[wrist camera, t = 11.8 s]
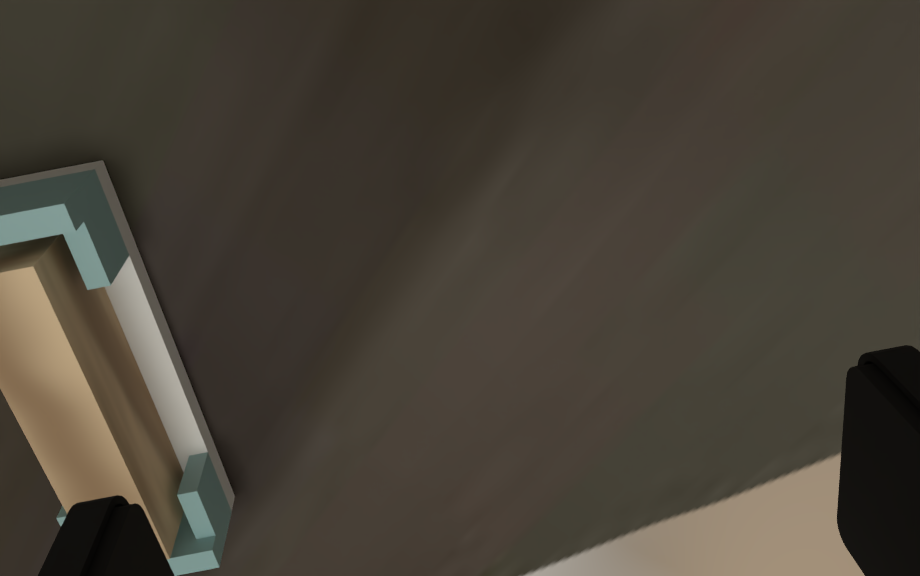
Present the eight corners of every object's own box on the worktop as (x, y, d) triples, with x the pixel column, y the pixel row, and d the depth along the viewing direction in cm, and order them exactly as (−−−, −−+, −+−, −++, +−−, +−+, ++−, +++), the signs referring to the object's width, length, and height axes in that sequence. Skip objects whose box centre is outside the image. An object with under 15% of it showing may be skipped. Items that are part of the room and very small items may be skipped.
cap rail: (102, 160, 37) (64, 203, 32) (234, 496, 46) (219, 567, 41) (-53, 189, 37) (-114, 237, 32) (111, 520, 46) (82, 593, 41)
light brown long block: (74, 216, 36) (33, 266, 32) (190, 488, 44) (169, 558, 40) (-4, 231, 36) (-56, 283, 32) (125, 501, 44) (98, 573, 40)
